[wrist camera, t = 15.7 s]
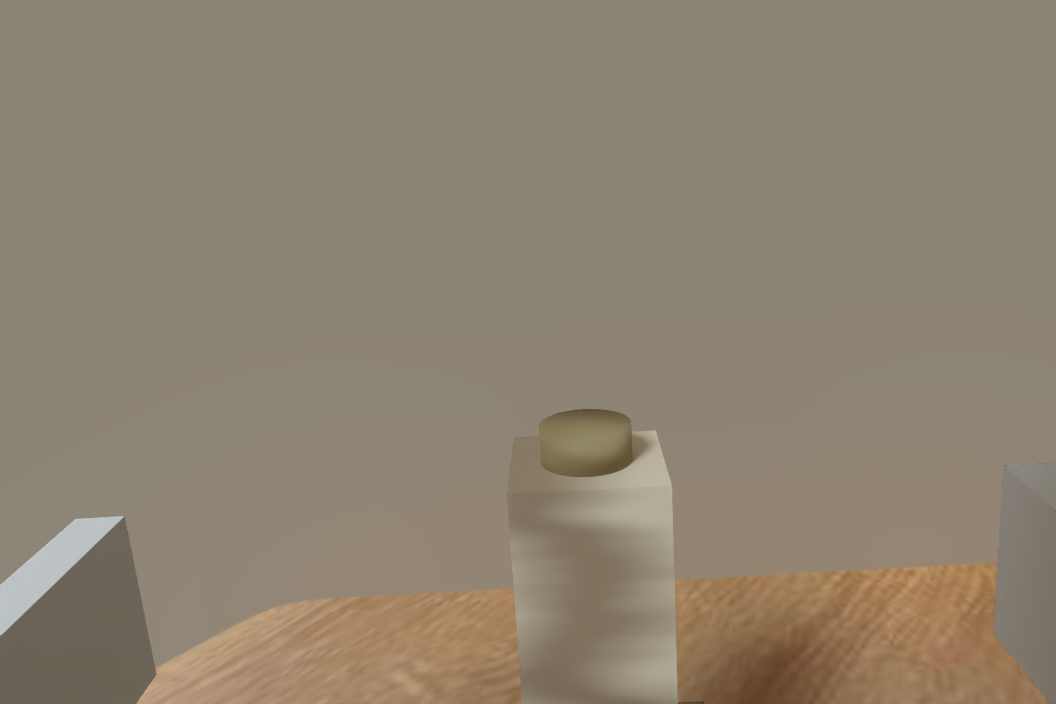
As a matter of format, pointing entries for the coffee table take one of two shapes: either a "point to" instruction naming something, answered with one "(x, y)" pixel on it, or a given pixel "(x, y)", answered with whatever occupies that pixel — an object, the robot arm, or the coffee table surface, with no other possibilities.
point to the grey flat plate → (690, 702)
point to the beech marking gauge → (593, 562)
